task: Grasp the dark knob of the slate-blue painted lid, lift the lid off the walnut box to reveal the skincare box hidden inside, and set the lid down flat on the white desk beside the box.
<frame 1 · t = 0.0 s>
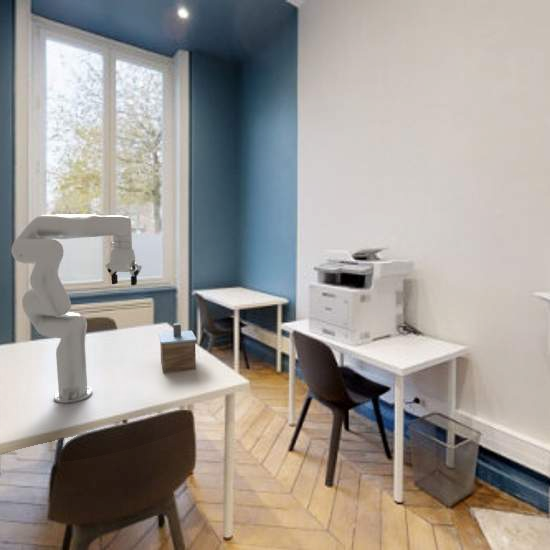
hand: (124, 284, 172), 37 cm above the table, tool pointing down, fingers open, 9 cm apart
lid: (177, 337, 176), point 13 cm above the table, touching walnut box
walnut box: (177, 365, 178), on the table
skincare box: (177, 366, 178), resting in walnut box
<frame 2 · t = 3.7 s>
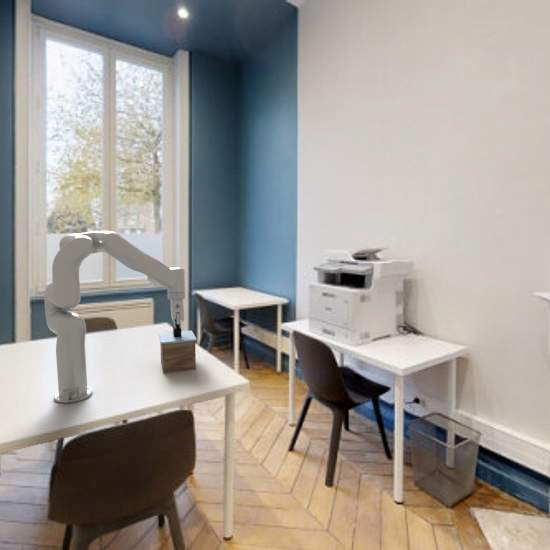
hand: (177, 335, 176), 14 cm above the table, tool pointing down, fingers closed on lid, 3 cm apart
lid: (177, 337, 176), point 13 cm above the table, touching gripper, walnut box
everything else where it was.
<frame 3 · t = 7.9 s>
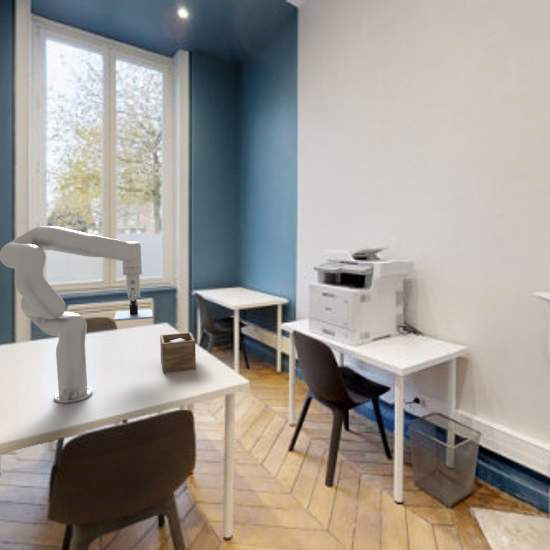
hand: (133, 313, 168), 26 cm above the table, tool pointing down, fingers closed on lid, 3 cm apart
lid: (134, 315, 169), point 24 cm above the table, touching gripper
everything else where it was.
when the fingers open (3 cm above the table, at t = 12.4 s): lid drops 3 cm, on the table.
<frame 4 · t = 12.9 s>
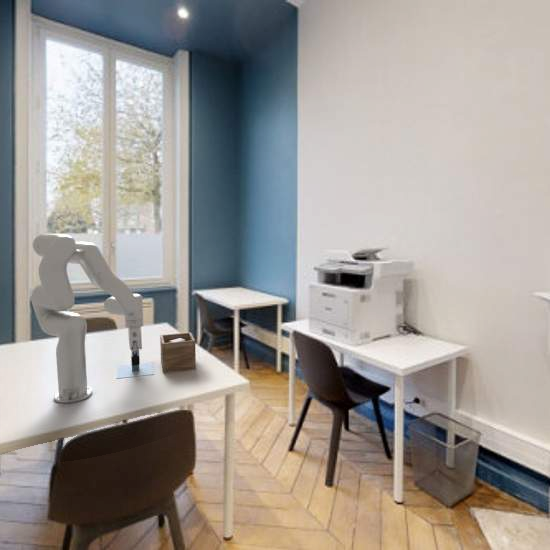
hand: (135, 361, 171), 4 cm above the table, tool pointing down, fingers open, 8 cm apart
lid: (135, 371, 172), on the table
everything else where it was.
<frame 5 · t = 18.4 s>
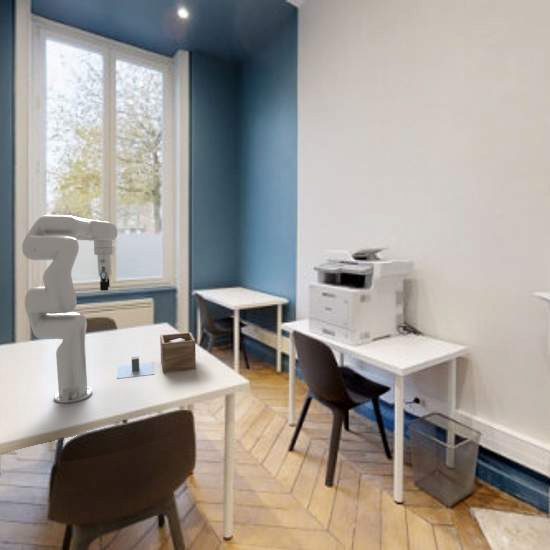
hand: (105, 288, 178), 34 cm above the table, tool pointing down, fingers open, 9 cm apart
nothing on the table moved.
at the end: lid inside the target area (0.1 cm from its centre), on the table; lid tilted 0°; lid touching table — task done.
